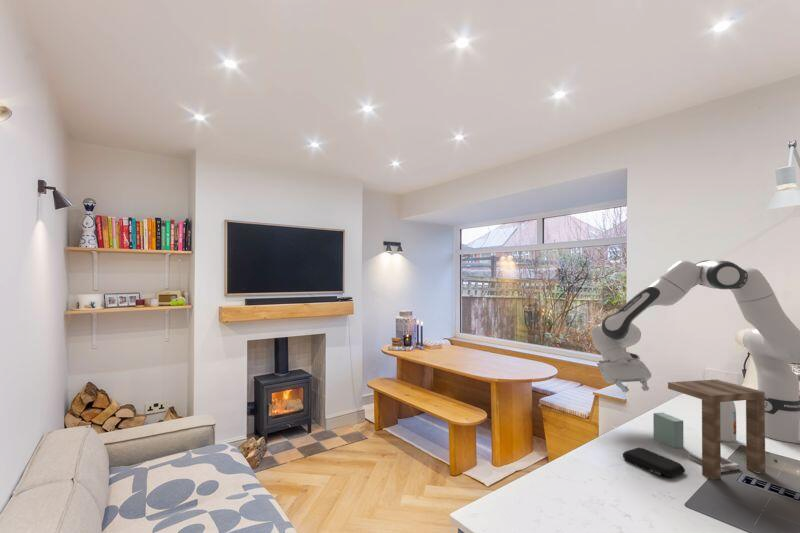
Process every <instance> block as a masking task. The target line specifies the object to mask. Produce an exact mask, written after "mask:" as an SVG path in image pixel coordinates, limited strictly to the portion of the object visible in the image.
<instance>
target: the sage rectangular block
mask: <svg viewBox="0 0 800 533" xmlns="http://www.w3.org/2000/svg"><path fill="white" fill-rule="evenodd" d="M652 416H653V419H652V420H653V421H652V422H653V439H654V440H656V441H658V442H661V443H663V444H665V445H667V446H669V447H671V448H673V449H677V448H678V449H679V448H684V420H683V419H680V418H678V417H675V416H672V415H670V414H667V413H665V412H654V413H653V415H652Z"/></svg>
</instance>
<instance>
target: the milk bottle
mask: <svg viewBox="0 0 800 533" xmlns="http://www.w3.org/2000/svg"><path fill="white" fill-rule="evenodd" d="M720 431H721V442H727V443H735V442H736V441H737V410H736V404H735V401H728V402H720Z"/></svg>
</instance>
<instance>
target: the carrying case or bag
mask: <svg viewBox="0 0 800 533" xmlns="http://www.w3.org/2000/svg"><path fill="white" fill-rule="evenodd" d="M622 457H623V458H624V460H625V461H627V462H628V461H629V463H631V464H633V465H635V466H637V467H639V468H642V469H643V470H646V471H648V472H649V473H651V474H655V475H657V476H659V477H660V478H664V479H669V480H670V479H672V478H676V477H678V476H680V475H682V474H684V473H685V472H686V468H685V467H684V466H683V465H682V464H681V463H680V462H677V461H674V460H672V459H670V458H668V457H666V456H664V455H660V454H658V453H656V452H653V451H651V450H648V449H645V448H643V447H635V448H632V449H628V450H626V451H624V452H623V453H622Z"/></svg>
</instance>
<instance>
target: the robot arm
mask: <svg viewBox="0 0 800 533" xmlns="http://www.w3.org/2000/svg"><path fill="white" fill-rule="evenodd" d="M698 285H700V286H703V287H707V288H710V289H715V290H716V289H719V290H730V292H732V294H733V295H734V298H735V300H736V303H737V305H738V307H739V309H740V311H741V314H742V316H743V318H744V320H746V322H747V323H748V324H750V325H752V327H754V328H750V329H748V330H746V331H745V332H744V334H743V335H742V339H741V340H742V343H743V346H744V347H745V349H747V350H748V352H749V353H750V356H751V358H752V360H753V363H754V367H755V370H756V377H757V378H756V379H757V390H759V391H763V392H765V438H766V437H767V438H770V439H773V440H776V441H782V442H788V443H794V444H800V379H799V377H798V375H797V374H796V373H794V371H793V370H792V367H791V365H790V364H800V329H799V328H798V327H797V325H795V323H793V321H792V320H791V319H790V318H789V316H787V314H786V313H785V311H784V310H783V308H782V306H781V304H780V302H779V300H778V297H777V295H776V294H775V293H774V290H773V288H772V286H771V284H770V282H768V280H767V279H766V277H765V276H764V274H763V273H762V272H761V271H760V270H759V269H756V268H753V267H746V268H745V267H744V268H742V267H740V266H739V265H738V264H736V263H734V262H732V261H728V260H723V259H722V260H721V259H711V260H709V259H707V260H702V261H698V262H696V263H694V262H692V261H688V260H684V259H683V260H678V261H676V262H675V263H674V264H672V265H671V266H669V267H668V268H667V269H666V270H665V271H664V272H663V273H661V275H659V277H658V278H656V279H655V280H654V281H653V282H651V284H649V286H647V287H645V288H643V289H641V291H639V292H638V293H637V294H636V295H634V296H633V297H632V298H631V299H629V300H628V301H627V302H626V303H624V305H623V306H621V307H620V308H619V309H617V310H616V311H614V312H612V313H610V314H608V315H607V316H605V317H604V319H602V322H601V323H599V324H597V325H595V326H594V327H593V328H592V329H591V330H590V337H591V341H592V343H593V345H594V346H595V348H596V349H597V351H598V352H599V353H600V355H601V357H602V359H603V360H598V362H597V367H598V369H599V372H600V374H601V377H602V378H603V381H604V382H605V383H606V384H615V386H616V387H618V388H619V389H620V390H621V391H622V393H628V392H629V391H630V389H629V388H628V386H627V385H624V384H623V383H632V382H633V383H634V382H635V383H636V382H639V383H640V384H642V386H641V389H642V390H643V392H648V391H649V390H650V387H649V386H648V380H650V379H651V378H652V372H651V371H650V369H649V368H648V367H647V365H646V364H645V363H644V361H642V360H641V356H640V355H638V354H636V353H632V352H629V351H627V350H625V348H628V347H632V346H634V345H636V344H637V343H639V342H640V340H641V338H642V332H641V330H640V328H639V327H638V326H637V325H636V324H634V323H633V321H634V320H636V318H638V317H639V316H640V315H641V314H642V313H644V312H645V311H646V310H647V309H648V308H650V307H653V306H654V307H655V306H665V307H666V306H667V307H668V306H669V307H670V306H673V305H675V304H676V303H678V302H679V301H680V300H682V299H683V298H684V297H685V295H687V294H688V293H689V292H690V291H691V290H692V289H693V288H694V287H696V286H698Z"/></svg>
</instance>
